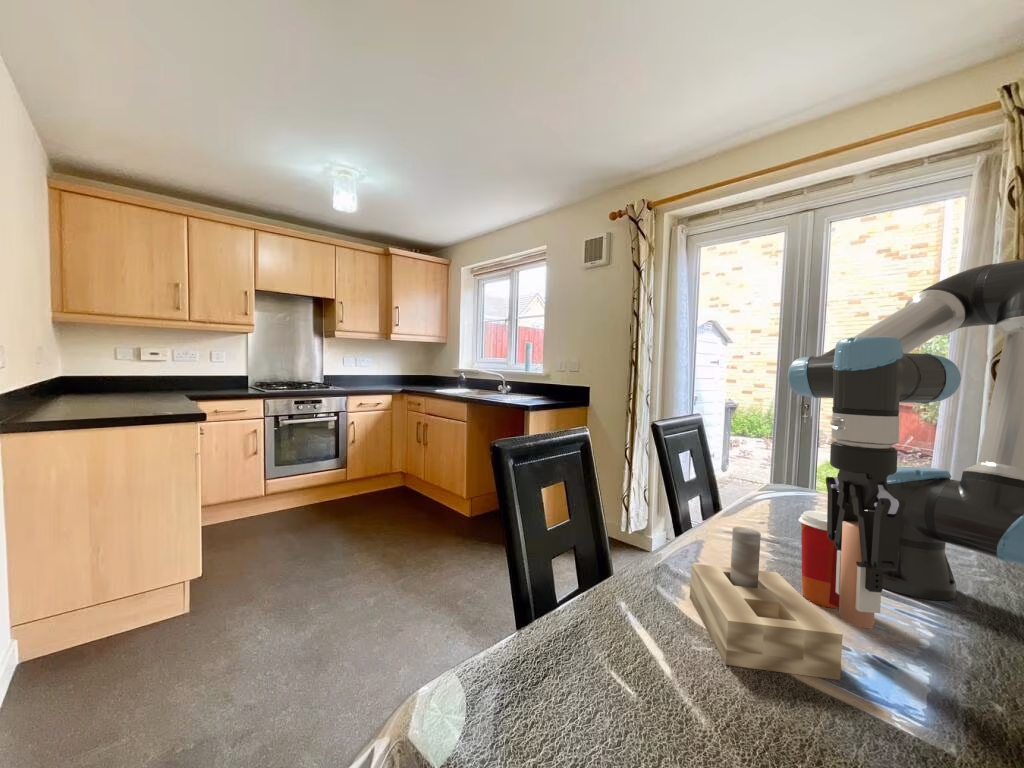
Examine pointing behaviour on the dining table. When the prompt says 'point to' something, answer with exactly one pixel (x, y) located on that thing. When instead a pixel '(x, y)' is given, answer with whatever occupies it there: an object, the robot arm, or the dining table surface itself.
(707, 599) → the bore block
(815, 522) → the coffee cup
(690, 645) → the dining table surface
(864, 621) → the dowel
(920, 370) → the robot arm
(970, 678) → the dining table surface
